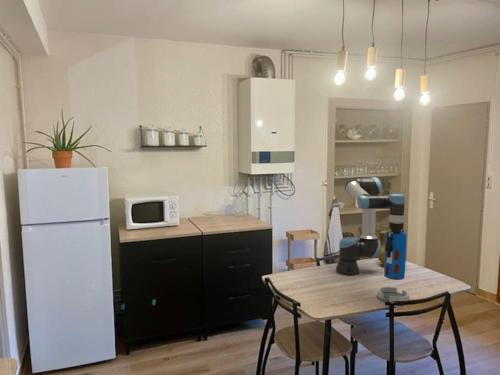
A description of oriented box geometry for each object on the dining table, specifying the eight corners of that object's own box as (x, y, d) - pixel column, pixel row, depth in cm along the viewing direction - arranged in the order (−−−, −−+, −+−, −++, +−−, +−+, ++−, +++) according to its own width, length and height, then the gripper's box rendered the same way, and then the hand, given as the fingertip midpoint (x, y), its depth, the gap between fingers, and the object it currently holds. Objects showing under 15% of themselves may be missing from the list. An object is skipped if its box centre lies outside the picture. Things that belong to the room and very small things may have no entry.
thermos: (406, 280, 210) (408, 235, 207) (385, 279, 212) (387, 234, 209) (402, 274, 220) (404, 231, 218) (382, 273, 222) (384, 230, 220)
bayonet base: (371, 297, 219) (371, 291, 218) (387, 290, 230) (387, 284, 229) (399, 307, 206) (399, 300, 205) (415, 299, 217) (415, 292, 216)
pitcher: (379, 268, 270) (381, 232, 268) (375, 261, 288) (377, 228, 286) (405, 270, 267) (407, 234, 265) (399, 263, 285) (401, 230, 284)
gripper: (391, 225, 202) (390, 266, 205) (413, 220, 218) (411, 258, 220) (378, 223, 208) (377, 263, 210) (400, 218, 223) (399, 255, 225)
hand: (394, 261), depth 215 cm, fingers closed on thermos, 11 cm apart
